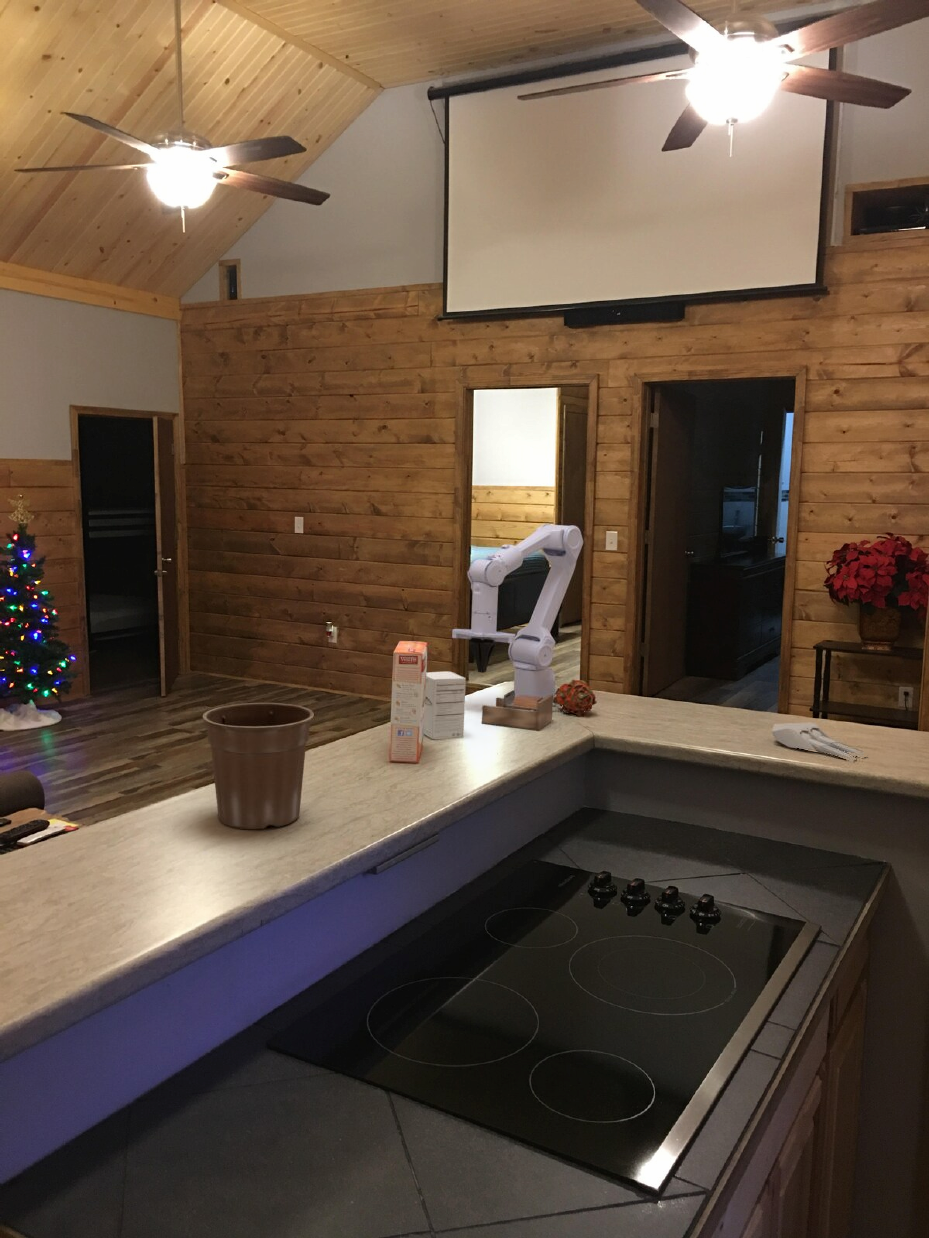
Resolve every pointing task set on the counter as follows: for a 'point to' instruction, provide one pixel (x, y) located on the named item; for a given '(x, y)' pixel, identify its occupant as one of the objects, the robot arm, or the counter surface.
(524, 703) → the wheeled platform dolly
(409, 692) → the cracker box
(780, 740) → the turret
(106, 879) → the counter surface
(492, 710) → the brown wooden open box
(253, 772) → the plant pot
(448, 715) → the supplement box
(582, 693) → the dragon fruit
